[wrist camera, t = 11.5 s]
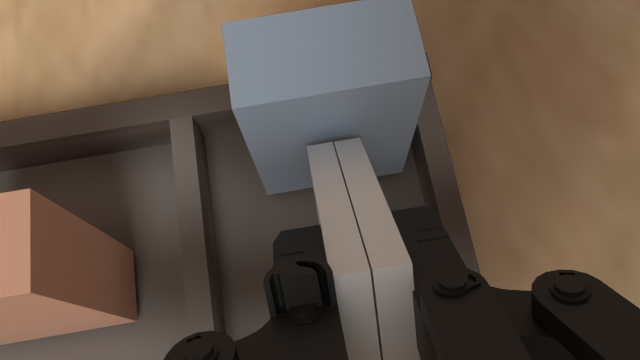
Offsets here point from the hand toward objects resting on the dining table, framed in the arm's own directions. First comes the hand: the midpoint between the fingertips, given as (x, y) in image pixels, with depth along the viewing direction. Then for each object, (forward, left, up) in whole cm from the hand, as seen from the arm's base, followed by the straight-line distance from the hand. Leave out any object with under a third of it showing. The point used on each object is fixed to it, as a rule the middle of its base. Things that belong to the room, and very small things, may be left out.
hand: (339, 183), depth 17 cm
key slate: (-1, -2, -4) cm, 5 cm away
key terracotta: (+9, -4, -4) cm, 11 cm away
